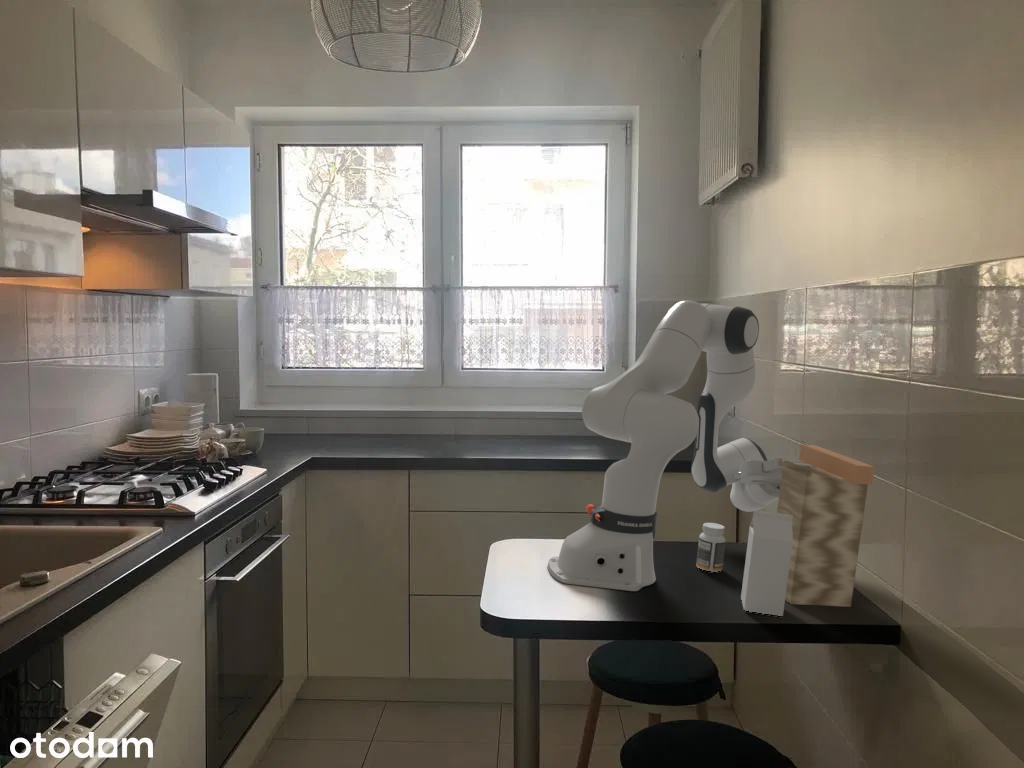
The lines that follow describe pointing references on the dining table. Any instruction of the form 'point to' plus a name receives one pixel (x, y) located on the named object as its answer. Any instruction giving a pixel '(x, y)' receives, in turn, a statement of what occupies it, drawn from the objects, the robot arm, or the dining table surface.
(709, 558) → the pill bottle
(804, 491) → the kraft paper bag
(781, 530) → the milk carton
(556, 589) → the dining table surface
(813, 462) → the bar
